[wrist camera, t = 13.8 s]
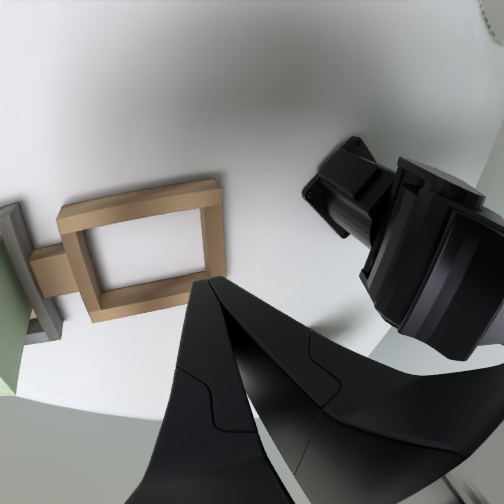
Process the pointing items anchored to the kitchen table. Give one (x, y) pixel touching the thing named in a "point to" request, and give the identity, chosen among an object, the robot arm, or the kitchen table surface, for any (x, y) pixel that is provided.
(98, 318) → the joined double square frame
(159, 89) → the kitchen table surface
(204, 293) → the robot arm
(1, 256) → the sage peg
